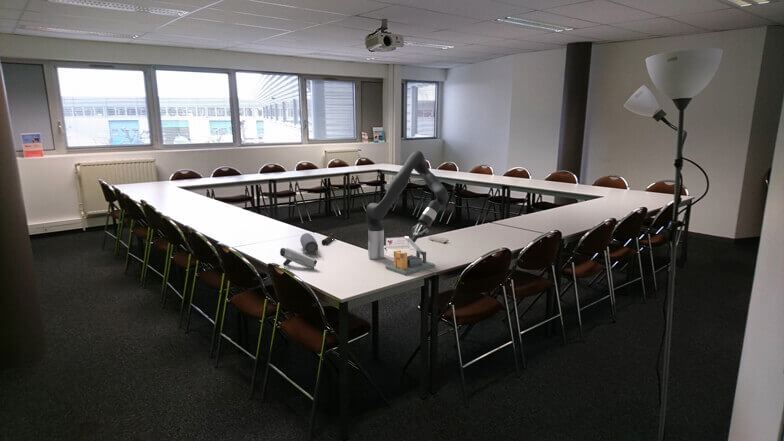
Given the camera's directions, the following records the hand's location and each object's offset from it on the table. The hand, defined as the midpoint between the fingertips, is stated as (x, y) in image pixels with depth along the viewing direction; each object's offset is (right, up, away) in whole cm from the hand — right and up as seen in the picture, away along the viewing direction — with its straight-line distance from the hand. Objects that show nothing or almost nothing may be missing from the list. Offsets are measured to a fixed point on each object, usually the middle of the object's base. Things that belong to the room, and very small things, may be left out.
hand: (412, 241), depth 258 cm
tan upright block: (-7, -14, -3) cm, 16 cm away
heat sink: (-1, -13, +2) cm, 13 cm away
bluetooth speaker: (-64, -8, +38) cm, 75 cm away
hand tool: (-55, -3, +62) cm, 83 cm away
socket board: (-1, -15, +3) cm, 15 cm away
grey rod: (+5, -7, +6) cm, 11 cm away
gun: (-65, -15, +6) cm, 67 cm away
